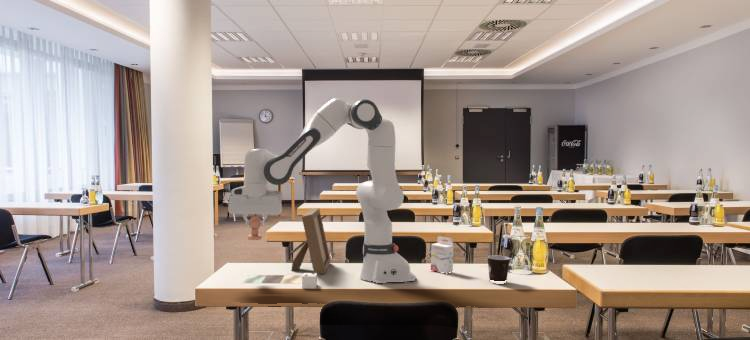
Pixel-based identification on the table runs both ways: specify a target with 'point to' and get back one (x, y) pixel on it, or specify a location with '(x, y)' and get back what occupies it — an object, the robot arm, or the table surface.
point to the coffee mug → (498, 267)
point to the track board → (273, 279)
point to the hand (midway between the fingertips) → (255, 225)
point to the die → (309, 280)
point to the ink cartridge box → (442, 255)
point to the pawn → (254, 228)
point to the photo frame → (313, 243)
